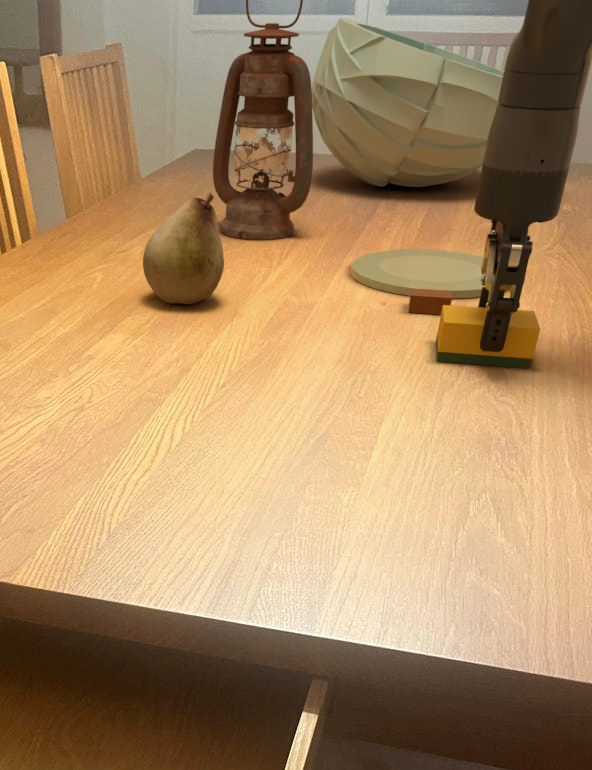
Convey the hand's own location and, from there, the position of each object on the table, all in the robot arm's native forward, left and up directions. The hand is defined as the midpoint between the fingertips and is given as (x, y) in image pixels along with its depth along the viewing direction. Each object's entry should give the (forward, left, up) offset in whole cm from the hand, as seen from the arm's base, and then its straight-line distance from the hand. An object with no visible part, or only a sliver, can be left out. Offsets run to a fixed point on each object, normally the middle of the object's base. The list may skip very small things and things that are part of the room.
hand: (488, 337), depth 97 cm
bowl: (+9, -92, -2) cm, 92 cm away
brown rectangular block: (+5, -15, -2) cm, 16 cm away
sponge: (0, 0, -2) cm, 2 cm away
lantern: (+30, -50, -2) cm, 58 cm away
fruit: (+34, -12, -2) cm, 36 cm away
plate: (+5, -30, -2) cm, 30 cm away
